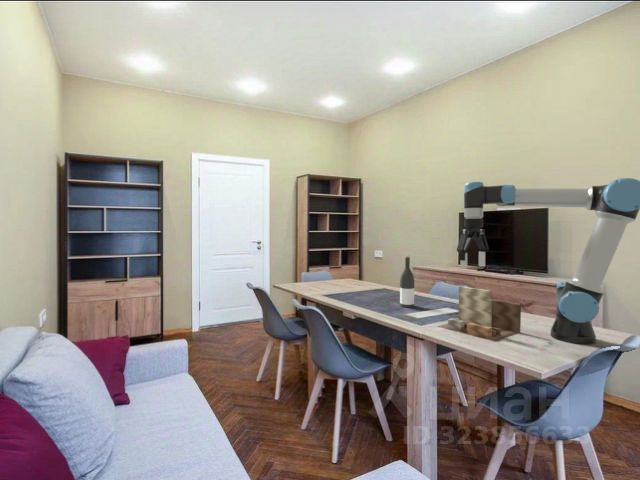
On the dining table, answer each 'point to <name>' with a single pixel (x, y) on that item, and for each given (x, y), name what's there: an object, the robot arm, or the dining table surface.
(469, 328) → the cherry offcut
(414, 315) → the baseboard molding
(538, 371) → the dining table surface
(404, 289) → the wine bottle
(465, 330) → the walnut rack
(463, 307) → the birch sheet
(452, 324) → the grey mdf offcut
